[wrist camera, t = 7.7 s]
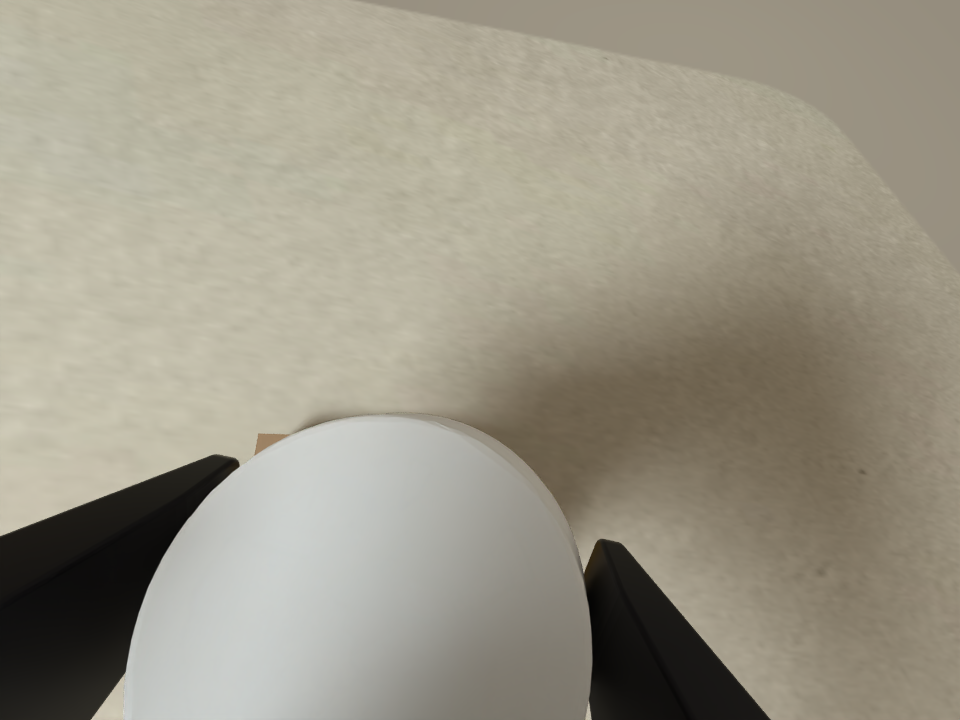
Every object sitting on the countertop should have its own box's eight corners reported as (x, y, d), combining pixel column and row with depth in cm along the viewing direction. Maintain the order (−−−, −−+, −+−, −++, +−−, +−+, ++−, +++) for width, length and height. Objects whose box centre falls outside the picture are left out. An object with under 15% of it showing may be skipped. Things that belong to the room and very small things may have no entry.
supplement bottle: (448, 444, 18) (480, 253, 7) (545, 604, 17) (828, 738, 5) (285, 543, 17) (-81, 524, 5) (374, 734, 15) (145, 1477, 3)
